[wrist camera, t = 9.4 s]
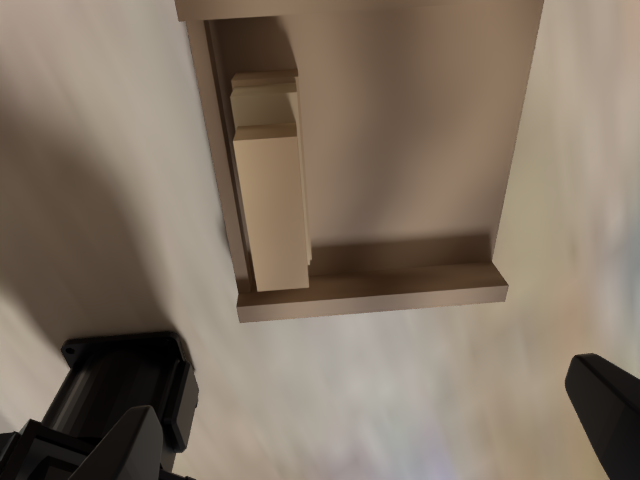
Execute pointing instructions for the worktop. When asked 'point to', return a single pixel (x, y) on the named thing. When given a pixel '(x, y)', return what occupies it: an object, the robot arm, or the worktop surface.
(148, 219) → the worktop surface
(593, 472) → the worktop surface
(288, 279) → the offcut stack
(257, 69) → the rack
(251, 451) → the worktop surface
